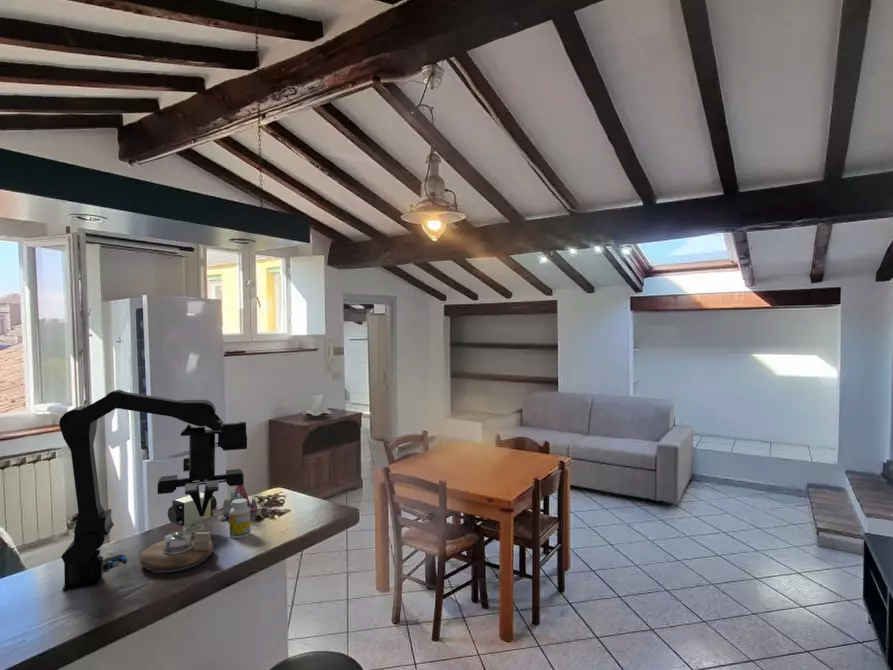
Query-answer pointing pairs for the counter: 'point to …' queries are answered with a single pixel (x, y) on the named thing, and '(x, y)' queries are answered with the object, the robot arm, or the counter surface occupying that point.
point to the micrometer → (113, 561)
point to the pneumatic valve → (190, 513)
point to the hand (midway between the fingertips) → (201, 515)
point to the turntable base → (177, 568)
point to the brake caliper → (235, 495)
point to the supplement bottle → (239, 519)
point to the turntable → (160, 561)
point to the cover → (177, 543)
